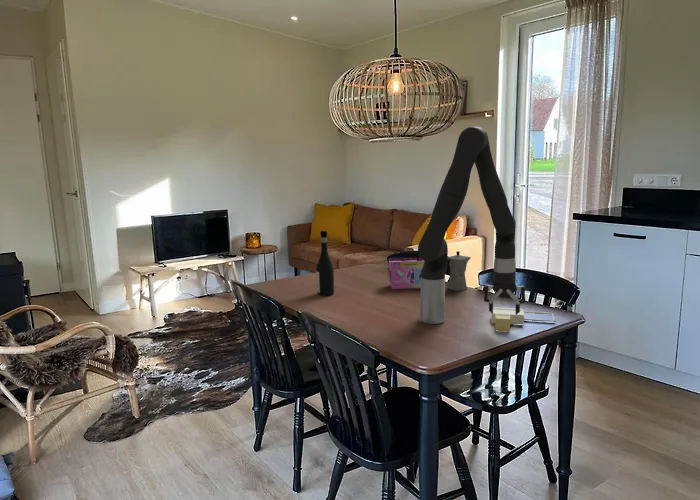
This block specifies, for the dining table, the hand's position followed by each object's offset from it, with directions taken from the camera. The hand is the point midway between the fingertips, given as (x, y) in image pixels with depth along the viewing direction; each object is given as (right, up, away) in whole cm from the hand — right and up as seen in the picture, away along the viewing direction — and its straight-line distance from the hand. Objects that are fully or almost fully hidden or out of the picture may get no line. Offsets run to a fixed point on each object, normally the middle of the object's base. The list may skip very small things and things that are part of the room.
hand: (504, 313), depth 185 cm
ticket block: (+4, -4, +9) cm, 11 cm away
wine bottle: (-67, +2, +54) cm, 86 cm away
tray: (+17, -4, +12) cm, 21 cm away
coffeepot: (-6, +4, +59) cm, 59 cm away
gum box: (-25, +5, +65) cm, 69 cm away
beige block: (0, -6, +2) cm, 6 cm away
